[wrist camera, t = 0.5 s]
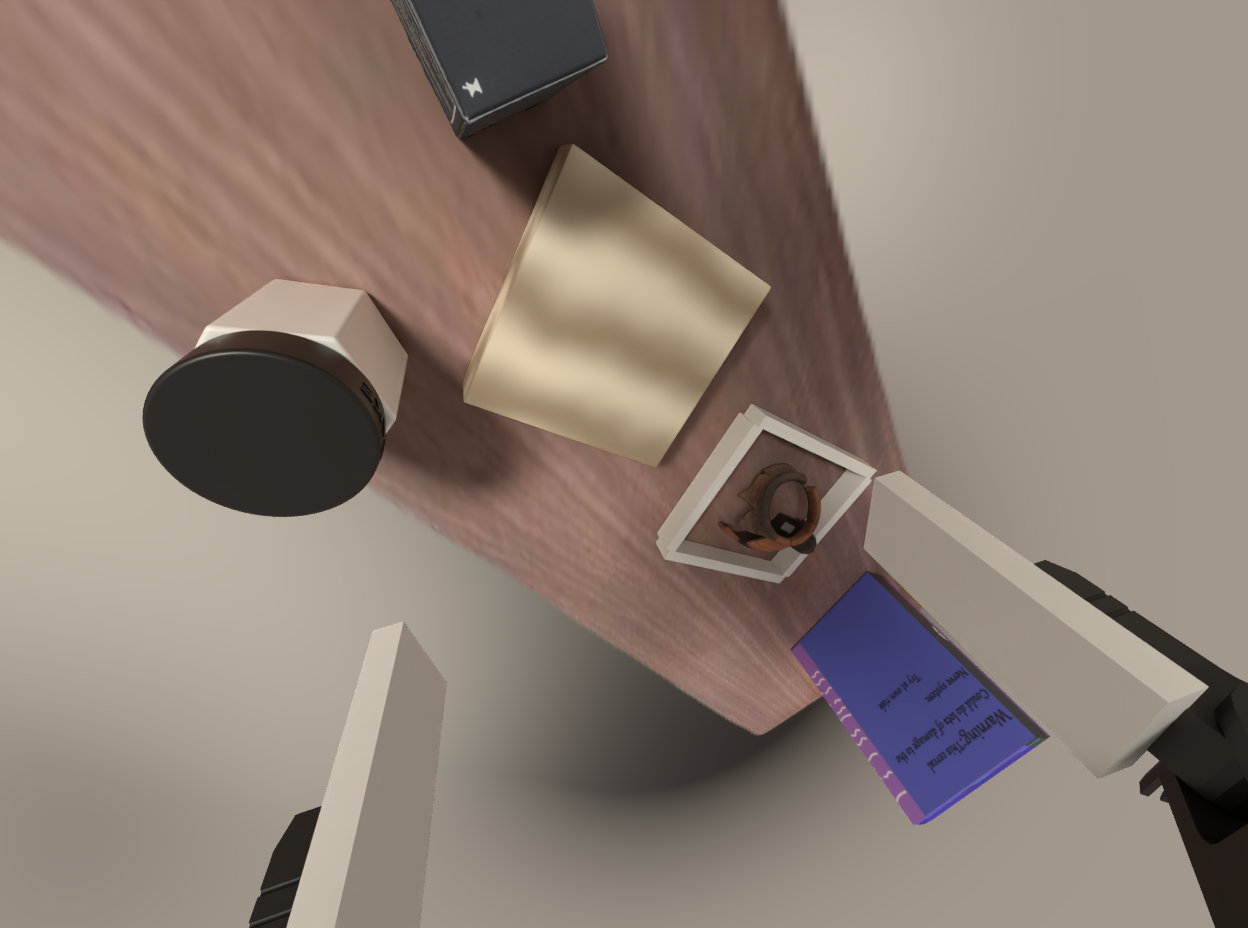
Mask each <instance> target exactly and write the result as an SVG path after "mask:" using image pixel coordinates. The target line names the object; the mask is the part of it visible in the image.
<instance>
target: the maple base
mask: <svg viewBox="0 0 1248 928" xmlns="http://www.w3.org/2000/svg"><path fill="white" fill-rule="evenodd" d="M770 289H771V286H769V285H768V284H766V283H765V282H764V281H762V280H761V279H759V278H758V277H757V276H755V275H754V274H753V273H751V272H750V271H748V270H747V269H746V268H744V267H743V266H741V265H740V264H739V263H737V262H736V261H735V260H733V259H732V258H730V257H729V256H728V255H726V254H725V253H724V252H722V251H721V250H719V249H718V248H717V247H715V246H714V245H712V244H711V243H710V242H708V241H707V240H706V239H704V238H703V237H701V236H700V235H699V234H697V233H696V232H694V231H693V230H692V229H690V228H689V227H688V226H686V225H685V224H683V223H682V222H681V221H679V220H678V219H677V218H675V217H674V216H672V215H671V214H670V213H668V212H667V211H665V210H664V209H663V208H661V207H660V206H659V205H657V204H656V203H654V202H653V201H652V200H650V199H649V198H647V197H646V196H645V195H643V194H642V193H641V192H639V191H638V190H636V189H635V188H634V187H632V186H631V185H630V184H628V183H627V182H625V181H624V180H623V179H621V178H620V177H618V176H617V175H616V174H614V173H613V172H612V171H610V170H609V169H607V168H606V167H605V166H603V165H602V164H601V163H599V162H598V161H596V160H595V159H594V158H592V157H591V156H589V155H588V154H587V153H585V152H584V151H583V150H581V149H580V148H578V147H577V146H576V145H574V144H566V145H560V146H559V149H558V151H557V153H556V156H555V158H554V161H553V163H552V166H551V168H550V170H549V173H548V175H547V178H546V180H545V183H544V185H543V187H542V190H541V192H540V195H539V197H538V199H537V202H536V204H535V207H534V209H533V212H532V214H531V216H530V219H529V221H528V224H527V226H526V229H525V231H524V233H523V236H522V238H521V241H520V243H519V246H518V248H517V250H516V253H515V255H514V258H513V260H512V262H511V265H510V267H509V270H508V272H507V275H506V277H505V279H504V282H503V284H502V287H501V289H500V292H499V294H498V296H497V299H496V301H495V304H494V306H493V309H492V311H491V313H490V316H489V318H488V321H487V323H486V325H485V328H484V330H483V333H482V335H481V338H480V340H479V342H478V345H477V347H476V350H475V352H474V355H473V357H472V359H471V362H470V364H469V367H468V369H467V372H466V374H465V376H464V379H463V396H464V402H465V403H468V404H471V405H474V406H476V407H479V408H482V409H485V410H488V411H491V412H494V413H497V414H500V415H503V416H506V417H509V418H512V419H515V420H518V421H520V422H523V423H526V424H529V425H532V426H535V427H538V428H541V429H544V430H547V431H550V432H553V433H556V434H559V435H562V436H564V437H567V438H570V439H573V440H576V441H579V442H582V443H585V444H588V445H591V446H594V447H597V448H600V449H603V450H605V451H608V452H611V453H614V454H617V455H620V456H623V457H626V458H629V459H632V460H635V461H638V462H641V463H644V464H647V465H649V466H652V467H655V468H656V467H657V465H658V464H659V462H660V461H661V459H662V457H663V456H664V454H665V453H666V451H667V450H668V448H669V447H670V445H671V443H672V442H673V440H674V439H675V437H676V436H677V434H678V432H679V431H680V429H681V428H682V426H683V425H684V423H685V421H686V420H687V418H688V417H689V415H690V414H691V412H692V411H693V409H694V407H695V406H696V404H697V403H698V401H699V400H700V398H701V396H702V395H703V393H704V392H705V390H706V389H707V387H708V386H709V384H710V382H711V381H712V379H713V378H714V376H715V375H716V373H717V371H718V370H719V368H720V367H721V365H722V364H723V362H724V361H725V359H726V357H727V356H728V354H729V353H730V351H731V350H732V348H733V346H734V345H735V343H736V342H737V340H738V339H739V337H740V335H741V334H742V332H743V331H744V329H745V328H746V326H747V325H748V323H749V321H750V320H751V318H752V317H753V315H754V314H755V312H756V310H757V309H758V307H759V306H760V304H761V303H762V301H763V300H764V298H765V296H766V295H767V293H768V292H769V290H770Z"/></svg>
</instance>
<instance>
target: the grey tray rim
mask: <svg viewBox="0 0 1248 928" xmlns="http://www.w3.org/2000/svg"><path fill="white" fill-rule="evenodd" d="M763 429H764V430H766V431H768V432H770V433H772V434H775V435H777V436H779V437H781V438H783V439H785V440H787V441H790V442H792V443H794V444H796V445H798V446H800V447H802V448H804V449H807V450H809V451H811V452H813V453H815V454H817V455H819V456H821V457H824V458H826V459H828V460H830V461H832V462H834V463H836V464H838V465H841V466H843V467H845V468H847V470H846V471H845V472H844V473H843V474H842V476H841V477H840V478H839V479H838V480H837V482H836V483H835V484H834V485H833V486H832V488H831V489H830V490H829V491H828V493H827V494H826V495H825V496H824V497H823V499H822V500H821V514H820V519H819V523H818V525H817V528H816V529H815V531H814V533H813V534H814V536H815V537H816V542H817V544H818V543H819V541H820V540H821V539H822V538H823V537H824V536H825V535H826V533H827V532H828V531H829V530H830V529H831V528H832V526H833V525H834V524H835V523H836V522H837V521H838V519H839V518H840V517H841V516H842V515H843V514H844V513H845V511H846V510H847V509H848V508H849V507H850V506H851V504H852V503H853V502H854V501H855V500H856V499H857V497H858V496H859V495H860V494H861V493H862V492H863V491H864V489H865V488H866V487H867V486H868V485H869V484H870V482H871V481H872V480H871V479H870V478H871V476H872V475H873V474H874V473H875V472H876V471H877V470H876V469H874V468H873V467H872V466H870V465H869V464H867V463H866V462H865V461H863V460H862V459H861V458H859V457H857V456H855V455H853V454H851V453H849V452H847V451H845V450H843V449H841V448H839V447H837V446H835V445H833V444H831V443H829V442H827V441H825V440H823V439H821V438H819V437H817V436H815V435H813V434H811V433H809V432H807V431H805V430H803V429H801V428H799V427H797V426H795V425H793V424H791V423H789V422H787V421H785V420H783V419H781V418H779V417H777V416H775V415H773V414H771V413H769V412H767V411H766V410H764V409H762V408H760V407H758V406H756V405H754V404H751V405H750V406H749V408H748V409H747V411H746V412H745V414H742V413H740V412H739V414H738V415H737V417H736V418H735V420H734V421H733V423H732V424H731V426H730V427H729V428H728V430H727V431H726V433H725V434H724V436H723V437H722V439H721V440H720V442H719V443H718V445H717V446H716V447H715V449H714V450H713V452H712V453H711V455H710V456H709V458H708V459H707V461H706V462H705V463H704V465H703V466H702V468H701V469H700V471H699V472H698V474H697V475H696V477H695V478H694V480H693V481H692V482H691V484H690V485H689V487H688V488H687V490H686V491H685V493H684V494H683V496H682V497H681V499H680V500H679V501H678V503H677V504H676V506H675V507H674V509H673V510H672V512H671V513H670V515H669V516H668V518H667V519H666V520H665V522H664V523H663V525H662V526H661V528H660V529H659V531H658V532H657V534H658V536H659V538H658V540H657V541H656V545H657V546H658V548H659V550H660V552H661V554H662V556H663V557H664V559H666V560H671V561H675V562H680V563H685V564H689V565H694V566H699V567H704V568H708V569H713V570H718V571H723V572H727V573H732V574H737V575H742V576H746V577H751V578H756V579H760V580H765V581H770V582H775V583H780V582H781V581H782V580H783V579H784V578H785V577H789V576H790V575H791V574H792V573H793V572H794V570H795V569H796V568H797V567H798V566H799V565H800V563H801V562H802V561H803V560H804V559H805V558H806V556H807V555H808V554H801V553H799V552H797V551H796V550H794V549H793V548H791V547H790V546H789V547H788V548H785V549H782V550H779V552H778V553H777V554H776V555H775V556H774V558H773V559H772V560H771V561H768V560H764V559H760V558H756V557H752V556H748V555H743V554H739V553H735V552H731V551H727V550H723V549H719V548H715V547H711V546H707V545H703V544H699V543H695V542H691V541H687V540H684V539H685V537H686V536H687V534H688V533H689V532H690V530H691V529H692V527H693V526H694V525H695V523H696V522H697V520H698V519H699V518H700V516H701V515H702V514H703V512H704V511H705V509H706V508H707V507H708V505H709V504H710V502H711V501H712V500H713V498H714V497H715V495H716V494H717V493H718V491H719V490H720V488H721V487H722V486H723V484H724V483H725V481H726V480H727V479H728V477H729V476H730V475H731V473H732V472H733V470H734V469H735V468H736V466H737V465H738V463H739V462H740V461H741V459H742V458H743V456H744V455H745V454H746V452H747V451H748V449H749V448H750V447H751V445H752V444H753V442H754V441H755V440H756V438H757V437H758V436H759V434H760V433H761V431H762V430H763ZM806 519H807V518H806ZM806 519H805V520H806Z"/></svg>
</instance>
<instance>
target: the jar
mask: <svg viewBox="0 0 1248 928" xmlns="http://www.w3.org/2000/svg"><path fill="white" fill-rule="evenodd" d="M407 361H408V355H407V353H406V352H405V350H404V349H403V347H402V346H401V344H400V343H399V341H398V340H397V338H396V337H395V335H394V333H393V332H392V330H391V329H390V327H389V326H388V324H387V323H386V321H385V320H384V318H383V317H382V315H381V314H380V312H379V311H378V309H377V308H376V306H375V305H374V303H373V302H372V300H371V299H370V297H369V296H368V294H367V293H366V292H365V291H363V290H357V289H350V288H342V287H334V286H326V285H319V284H311V283H303V282H296V281H288V280H281V279H274V280H272V281H271V282H269V283H268V284H266V285H265V286H264V287H262V288H261V289H259V290H258V291H256V292H255V293H254V294H252V295H251V296H249V297H248V298H246V299H245V300H244V301H242V302H241V303H239V304H238V305H236V306H235V307H234V308H232V309H231V310H229V311H228V312H226V313H225V314H223V315H222V316H221V317H219V318H218V319H216V320H215V321H213V322H212V323H211V324H209V325H208V326H206V327H205V329H204V331H203V333H202V335H201V337H200V339H199V341H198V343H197V345H196V347H195V349H194V350H192V351H191V352H190V353H188V354H187V355H186V356H185V357H183V358H182V359H181V360H179V361H178V362H177V363H175V364H174V365H173V366H171V367H170V368H169V369H167V370H166V371H165V372H164V373H163V374H162V375H160V377H159V378H158V379H157V380H156V381H155V383H154V384H153V385H152V387H151V389H150V391H149V392H148V395H147V397H146V400H145V403H144V408H143V428H144V432H145V436H146V439H147V441H148V443H149V446H150V448H151V450H152V451H153V453H154V455H155V456H156V457H157V459H158V460H159V462H160V463H161V464H162V466H163V467H164V468H165V469H166V470H167V471H168V472H169V473H170V474H171V475H172V476H173V477H174V478H175V479H176V480H178V481H179V482H180V483H182V484H183V485H184V486H185V487H187V488H188V489H190V490H191V491H193V492H195V493H196V494H198V495H200V496H202V497H204V498H206V499H208V500H210V501H212V502H214V503H216V504H219V505H222V506H224V507H227V508H230V509H233V510H237V511H241V512H245V513H250V514H255V515H262V516H272V517H292V516H293V517H294V516H303V515H309V514H315V513H318V512H322V511H325V510H329V509H331V508H334V507H336V506H339V505H341V504H343V503H344V502H346V501H348V500H349V499H351V498H353V497H354V496H355V495H357V494H358V493H359V492H360V491H361V490H362V489H363V488H364V487H365V486H366V485H367V484H368V482H369V481H370V480H371V478H372V477H373V475H374V473H375V471H376V469H377V466H378V464H379V462H380V461H379V460H381V457H382V454H383V450H384V445H385V440H386V439H384V437H386V434H387V432H388V431H389V429H390V428H391V426H392V425H393V424H394V422H395V421H396V418H397V412H398V407H399V402H400V397H401V392H402V387H403V381H404V376H405V371H406V366H407Z"/></svg>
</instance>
